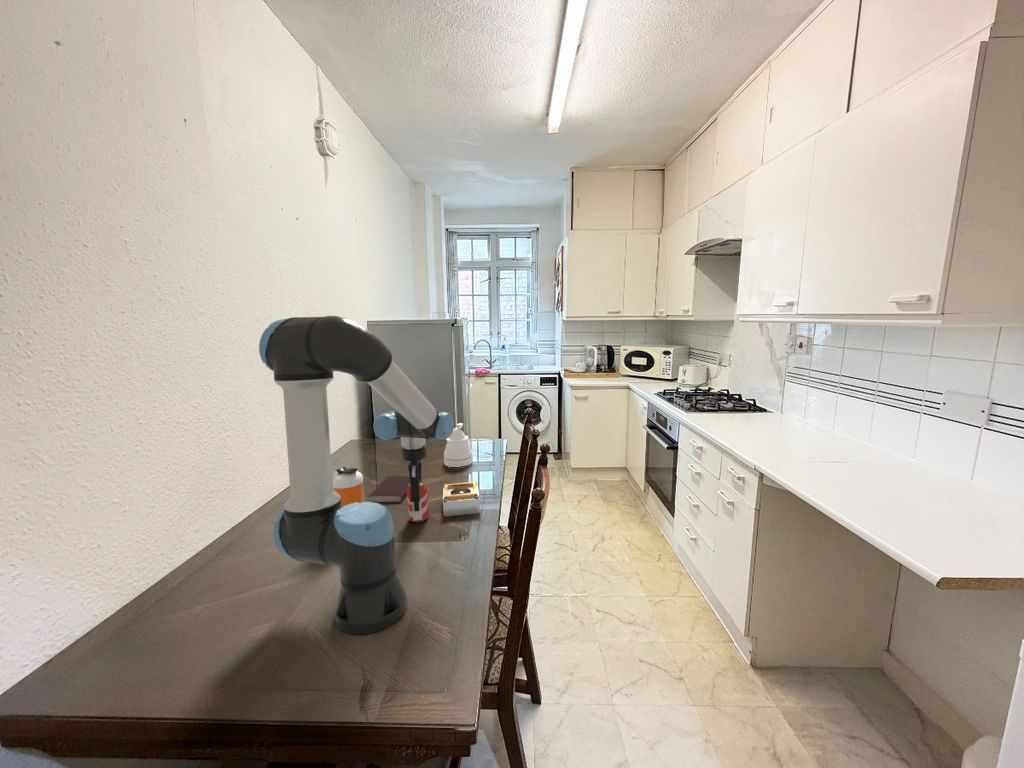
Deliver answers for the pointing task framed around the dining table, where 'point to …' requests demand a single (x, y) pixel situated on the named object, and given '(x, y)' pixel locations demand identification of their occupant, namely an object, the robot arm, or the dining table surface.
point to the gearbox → (461, 499)
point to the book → (391, 489)
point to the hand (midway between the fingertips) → (418, 514)
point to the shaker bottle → (348, 485)
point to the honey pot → (458, 449)
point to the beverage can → (423, 502)
